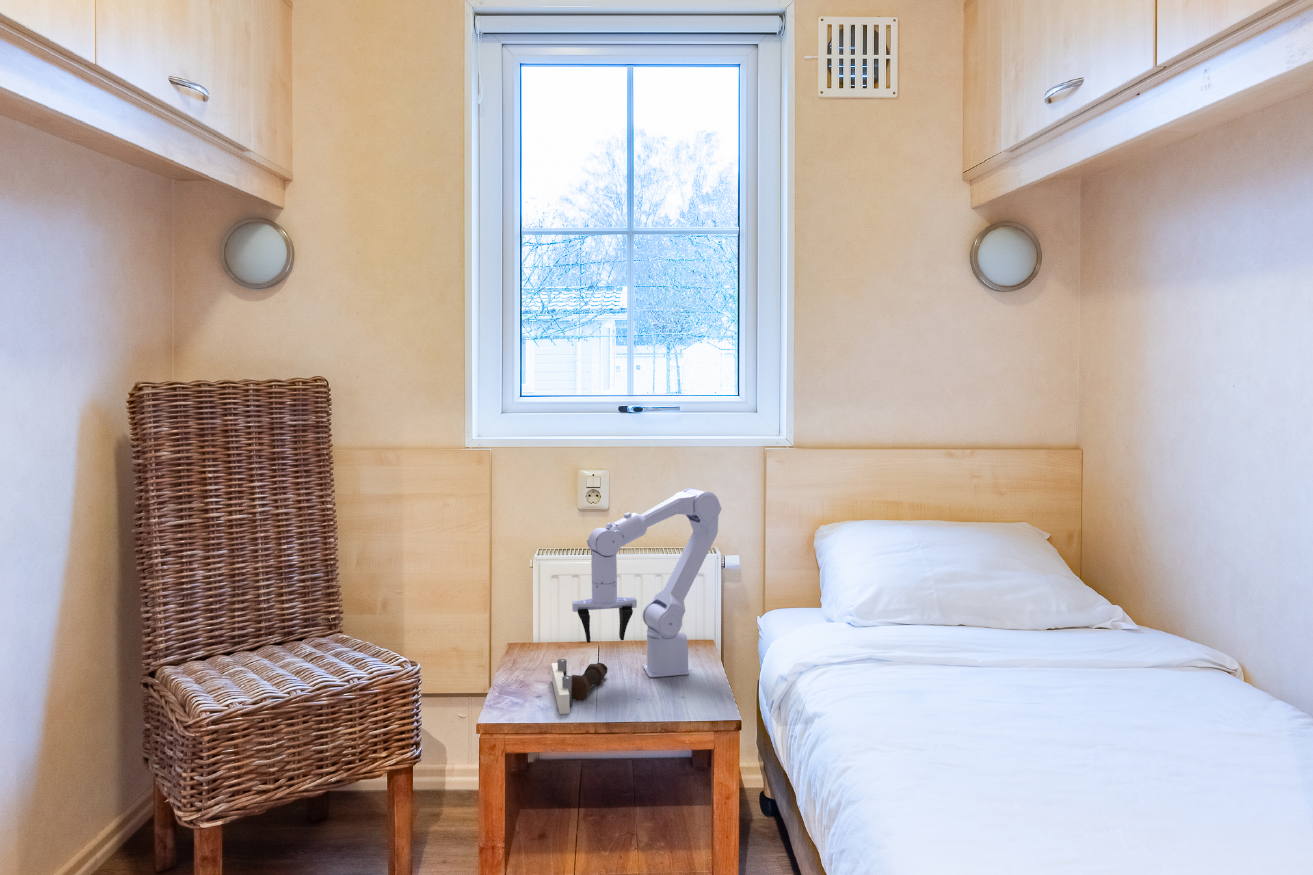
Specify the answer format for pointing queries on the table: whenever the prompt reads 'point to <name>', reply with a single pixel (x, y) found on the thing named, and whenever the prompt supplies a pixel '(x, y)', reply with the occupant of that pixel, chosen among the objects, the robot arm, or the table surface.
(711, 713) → the table surface
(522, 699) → the table surface
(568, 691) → the bar
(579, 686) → the bolt
